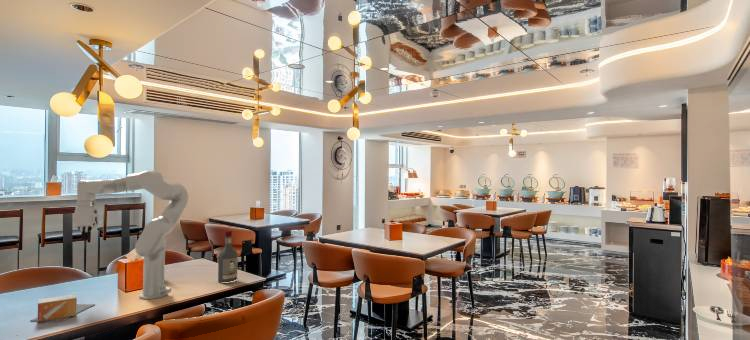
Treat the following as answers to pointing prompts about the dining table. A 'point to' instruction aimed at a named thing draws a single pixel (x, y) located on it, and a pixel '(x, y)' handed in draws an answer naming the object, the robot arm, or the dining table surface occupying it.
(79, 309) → the mat
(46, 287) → the dining table surface
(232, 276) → the liquor
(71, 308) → the small box
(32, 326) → the dining table surface
